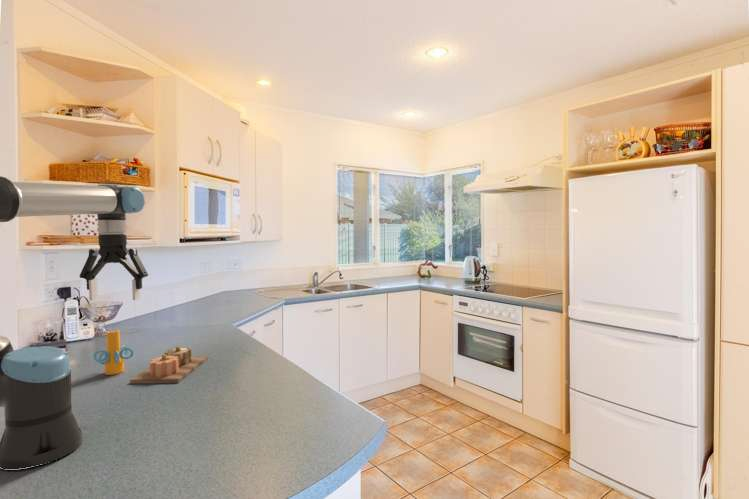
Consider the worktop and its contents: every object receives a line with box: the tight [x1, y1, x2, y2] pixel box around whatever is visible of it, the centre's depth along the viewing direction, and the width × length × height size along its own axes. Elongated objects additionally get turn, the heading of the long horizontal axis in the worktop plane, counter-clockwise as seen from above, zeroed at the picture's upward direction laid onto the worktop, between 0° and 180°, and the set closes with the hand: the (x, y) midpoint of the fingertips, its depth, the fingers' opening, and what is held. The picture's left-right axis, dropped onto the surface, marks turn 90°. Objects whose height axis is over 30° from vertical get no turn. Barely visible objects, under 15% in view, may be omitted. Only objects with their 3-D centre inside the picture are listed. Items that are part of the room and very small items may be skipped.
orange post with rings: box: [93, 329, 134, 376], centre depth 142 cm, size 12×10×15 cm
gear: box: [149, 355, 179, 377], centre depth 139 cm, size 9×9×4 cm
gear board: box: [129, 345, 208, 384], centre depth 144 cm, size 24×16×7 cm, turn 1°
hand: (115, 299), depth 127 cm, fingers open, 13 cm apart
